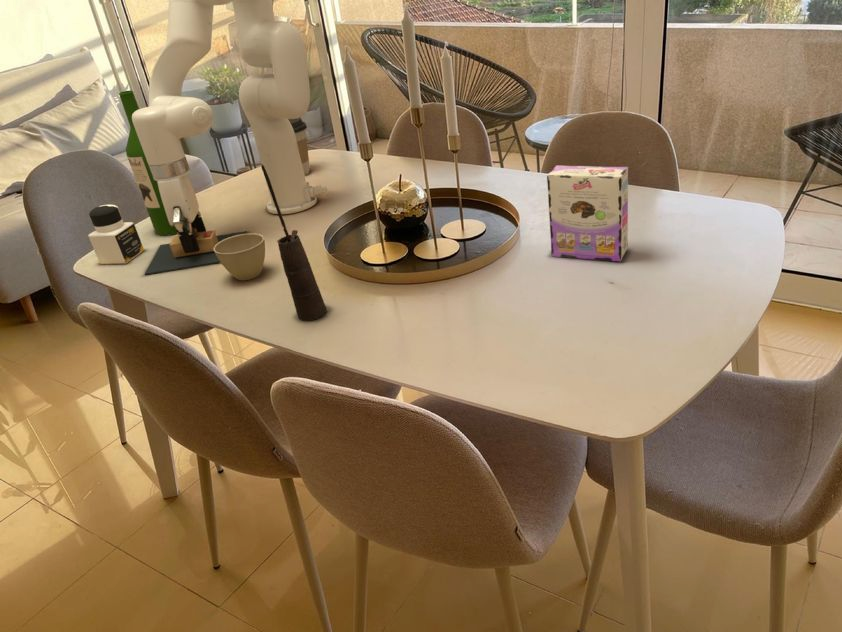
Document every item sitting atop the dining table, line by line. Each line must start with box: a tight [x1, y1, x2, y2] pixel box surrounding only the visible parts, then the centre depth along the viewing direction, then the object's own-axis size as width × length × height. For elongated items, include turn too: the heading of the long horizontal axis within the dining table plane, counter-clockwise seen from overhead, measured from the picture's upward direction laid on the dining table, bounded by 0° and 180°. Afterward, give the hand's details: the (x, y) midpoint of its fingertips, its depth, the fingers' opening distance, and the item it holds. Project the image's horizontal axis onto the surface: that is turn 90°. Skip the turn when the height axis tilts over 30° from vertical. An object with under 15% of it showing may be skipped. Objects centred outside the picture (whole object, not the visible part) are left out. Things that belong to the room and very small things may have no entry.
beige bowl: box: [214, 233, 266, 281], centre depth 141 cm, size 10×10×7 cm
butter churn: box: [261, 164, 328, 322], centre depth 118 cm, size 9×10×28 cm
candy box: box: [546, 165, 629, 262], centre depth 129 cm, size 14×6×16 cm, turn 65°
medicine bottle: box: [87, 204, 145, 265], centre depth 155 cm, size 7×7×12 cm
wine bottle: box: [118, 90, 187, 237], centre depth 163 cm, size 9×9×32 cm
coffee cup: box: [288, 117, 311, 176], centre depth 195 cm, size 11×11×15 cm
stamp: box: [169, 227, 218, 259], centre depth 154 cm, size 9×5×5 cm, turn 99°
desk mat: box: [144, 230, 248, 276], centre depth 156 cm, size 20×16×1 cm
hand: (196, 243), depth 155 cm, fingers open, 9 cm apart
